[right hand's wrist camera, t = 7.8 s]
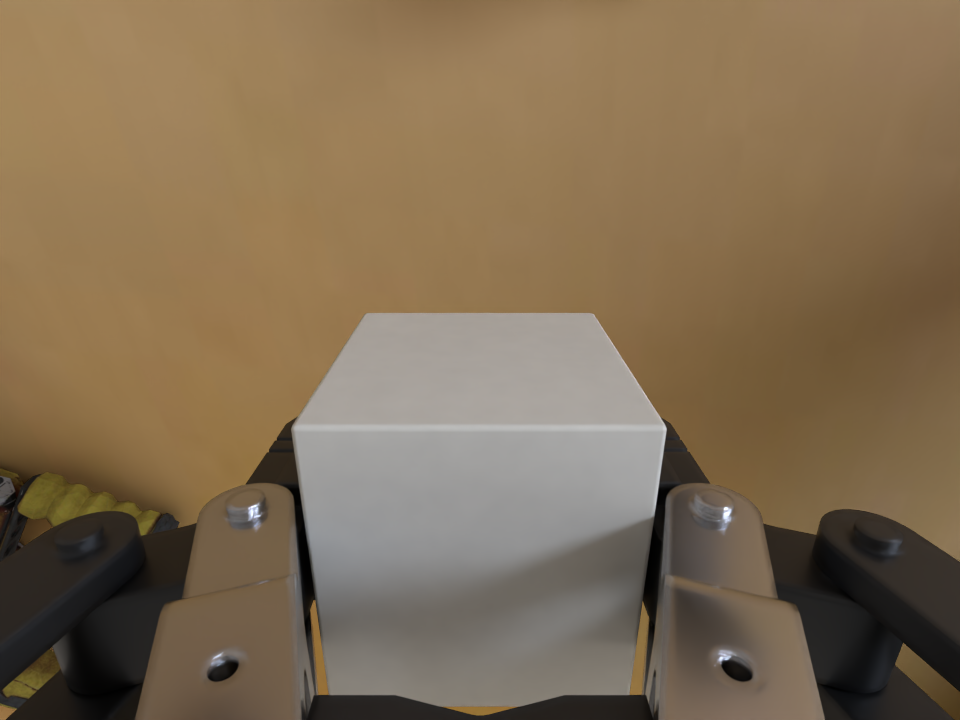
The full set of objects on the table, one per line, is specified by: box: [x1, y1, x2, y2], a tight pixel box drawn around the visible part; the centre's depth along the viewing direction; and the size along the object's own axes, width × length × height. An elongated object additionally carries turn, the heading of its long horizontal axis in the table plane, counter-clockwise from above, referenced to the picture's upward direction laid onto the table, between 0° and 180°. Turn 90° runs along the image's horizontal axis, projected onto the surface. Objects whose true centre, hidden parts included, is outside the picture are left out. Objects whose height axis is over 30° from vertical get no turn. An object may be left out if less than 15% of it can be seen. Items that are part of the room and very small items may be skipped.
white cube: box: [291, 313, 667, 706], centre depth 10 cm, size 5×5×5 cm
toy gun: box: [0, 468, 179, 709], centre depth 30 cm, size 5×24×15 cm
